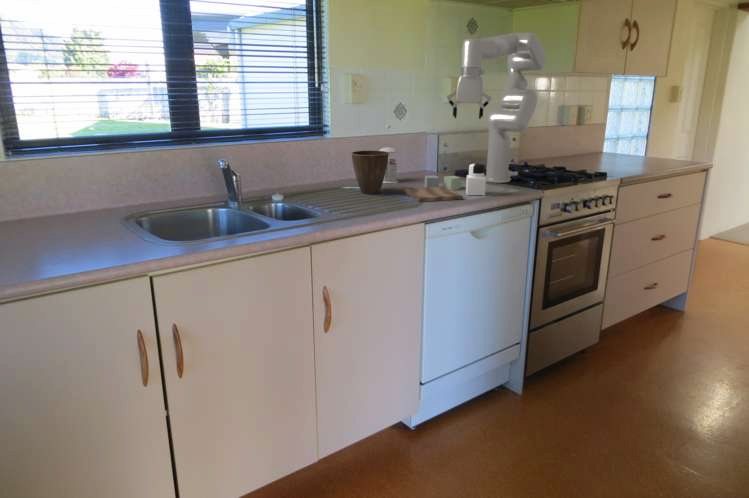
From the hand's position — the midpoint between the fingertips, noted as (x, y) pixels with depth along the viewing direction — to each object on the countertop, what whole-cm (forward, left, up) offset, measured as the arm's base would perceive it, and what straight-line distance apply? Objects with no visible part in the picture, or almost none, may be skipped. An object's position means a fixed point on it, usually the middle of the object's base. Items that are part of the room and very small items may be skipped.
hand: (467, 118), depth 209 cm
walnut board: (+17, +7, -29) cm, 34 cm away
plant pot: (+39, -6, -29) cm, 49 cm away
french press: (+26, -25, -29) cm, 46 cm away
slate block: (+12, -7, -29) cm, 32 cm away
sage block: (+4, -4, -29) cm, 30 cm away
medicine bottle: (-1, +8, -29) cm, 30 cm away
